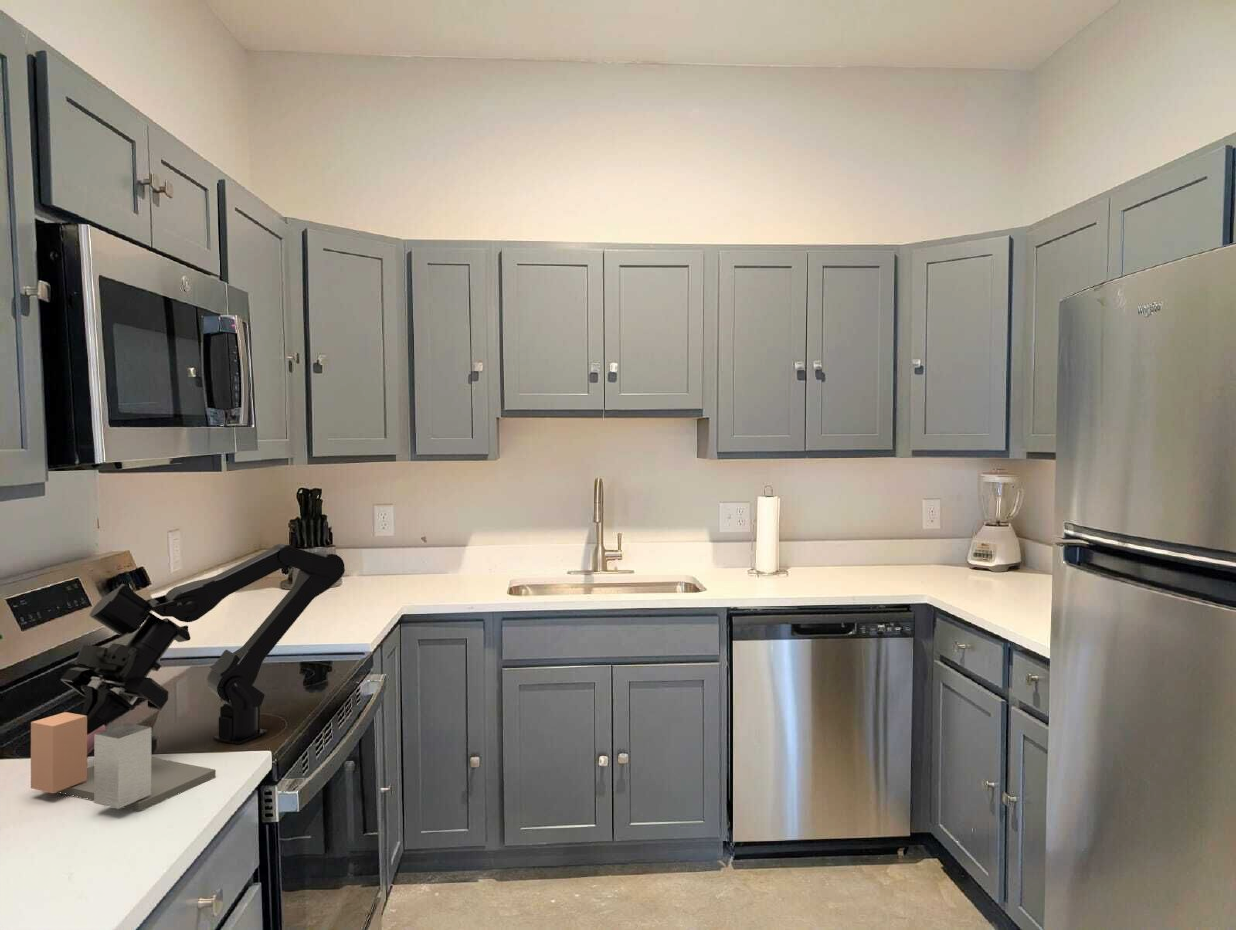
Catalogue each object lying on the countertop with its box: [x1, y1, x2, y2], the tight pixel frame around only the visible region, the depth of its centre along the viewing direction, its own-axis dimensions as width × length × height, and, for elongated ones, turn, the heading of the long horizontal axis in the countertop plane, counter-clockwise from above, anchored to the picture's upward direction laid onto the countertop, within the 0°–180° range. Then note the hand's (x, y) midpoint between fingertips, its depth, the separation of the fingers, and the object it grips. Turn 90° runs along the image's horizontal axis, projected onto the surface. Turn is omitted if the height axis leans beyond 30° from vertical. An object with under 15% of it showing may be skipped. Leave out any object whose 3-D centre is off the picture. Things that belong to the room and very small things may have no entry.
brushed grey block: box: [93, 722, 152, 810], centre depth 110 cm, size 5×5×10 cm
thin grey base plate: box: [57, 756, 217, 812], centre depth 119 cm, size 13×20×1 cm, turn 69°
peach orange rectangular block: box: [30, 711, 88, 794], centre depth 115 cm, size 5×5×10 cm
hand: (77, 736), depth 118 cm, fingers closed, pressing on peach orange rectangular block
